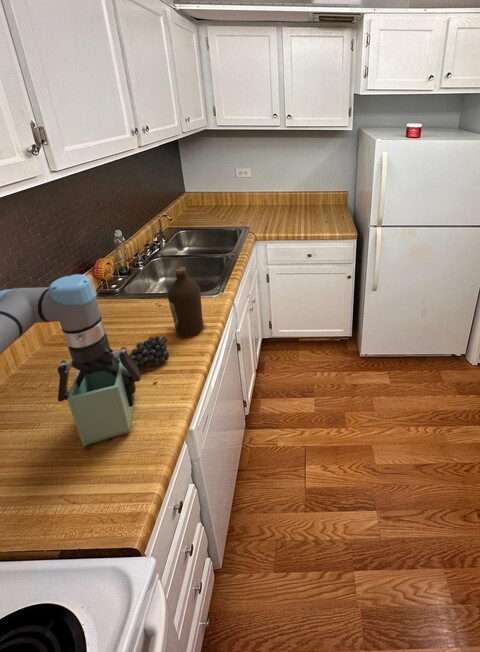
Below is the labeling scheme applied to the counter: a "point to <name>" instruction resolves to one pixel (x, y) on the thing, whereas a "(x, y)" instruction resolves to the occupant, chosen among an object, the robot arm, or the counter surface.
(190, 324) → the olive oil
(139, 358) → the fruit
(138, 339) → the counter surface
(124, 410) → the open box
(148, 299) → the counter surface
